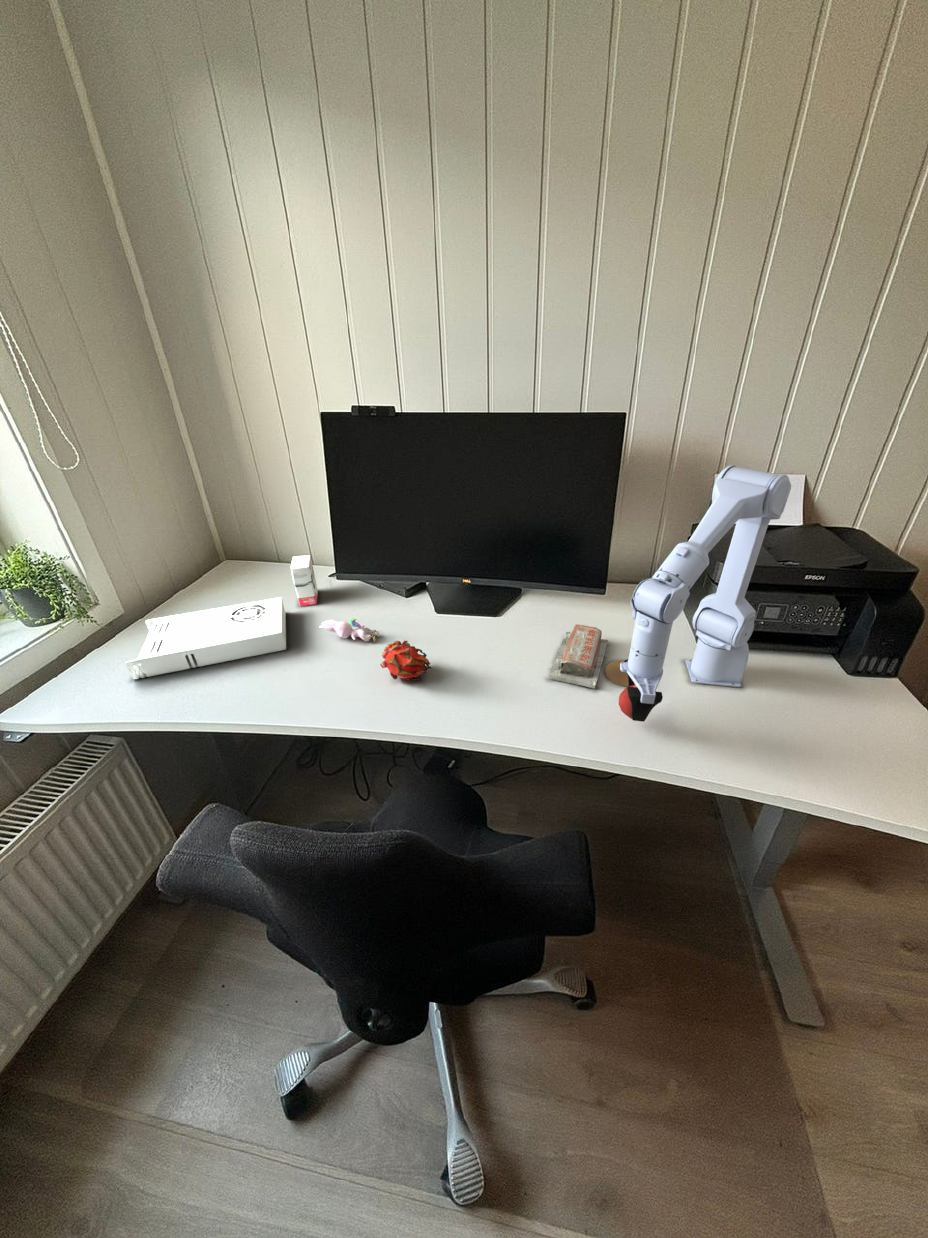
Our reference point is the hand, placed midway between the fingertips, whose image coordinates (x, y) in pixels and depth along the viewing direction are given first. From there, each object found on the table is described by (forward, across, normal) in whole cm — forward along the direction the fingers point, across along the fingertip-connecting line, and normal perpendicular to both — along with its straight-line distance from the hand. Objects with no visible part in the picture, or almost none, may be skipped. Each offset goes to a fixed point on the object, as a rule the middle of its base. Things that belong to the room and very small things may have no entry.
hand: (636, 707), depth 88 cm
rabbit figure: (+5, -20, -66) cm, 69 cm away
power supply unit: (+4, -12, -98) cm, 99 cm away
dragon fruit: (+5, -8, -47) cm, 48 cm away
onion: (+3, 0, 0) cm, 3 cm away
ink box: (+4, -37, -86) cm, 94 cm away
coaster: (+5, -16, 0) cm, 17 cm away
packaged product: (+5, -19, -10) cm, 22 cm away
